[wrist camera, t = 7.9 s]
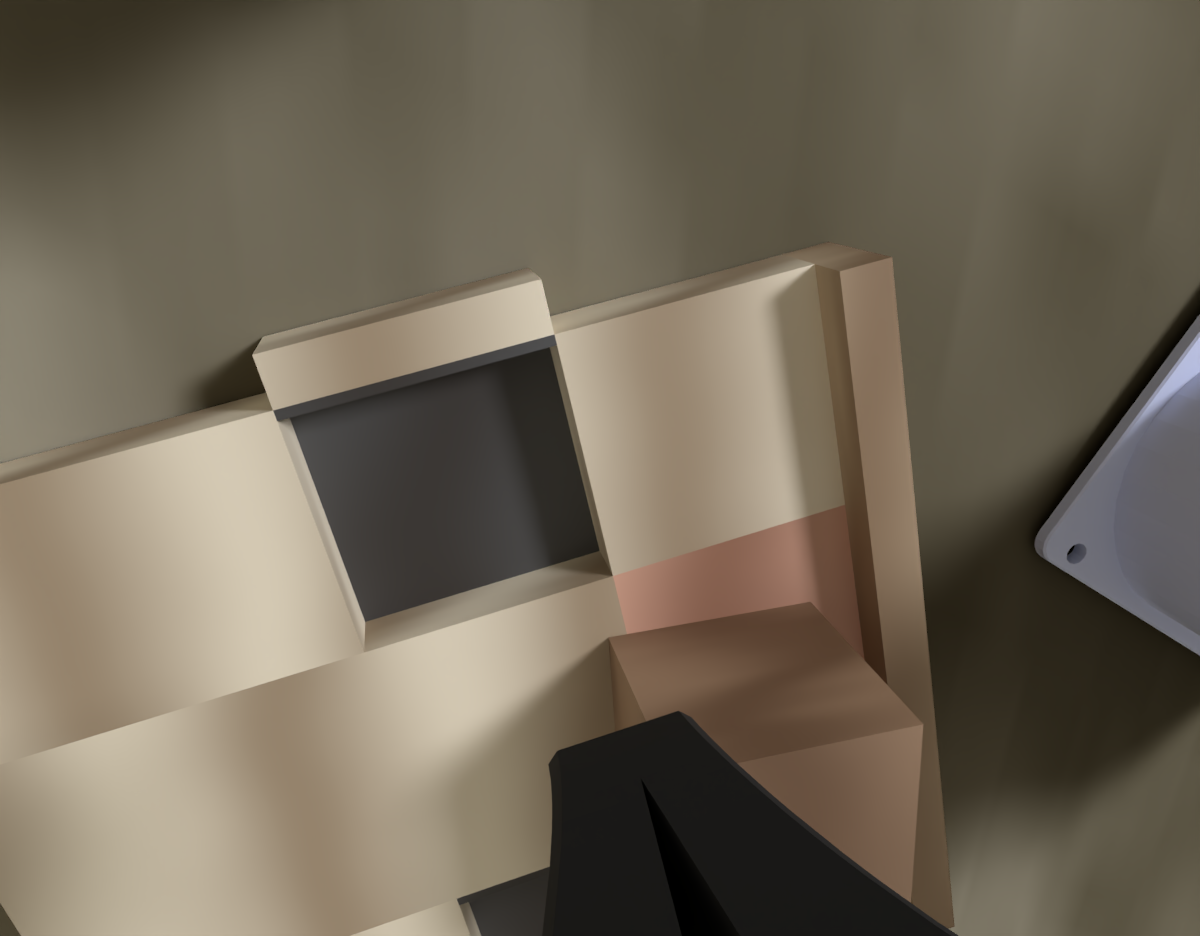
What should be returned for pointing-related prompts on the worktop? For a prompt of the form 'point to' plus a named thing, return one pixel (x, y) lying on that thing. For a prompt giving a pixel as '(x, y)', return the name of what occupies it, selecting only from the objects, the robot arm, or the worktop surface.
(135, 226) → the worktop surface
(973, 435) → the worktop surface
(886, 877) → the walnut block
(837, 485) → the trap board
